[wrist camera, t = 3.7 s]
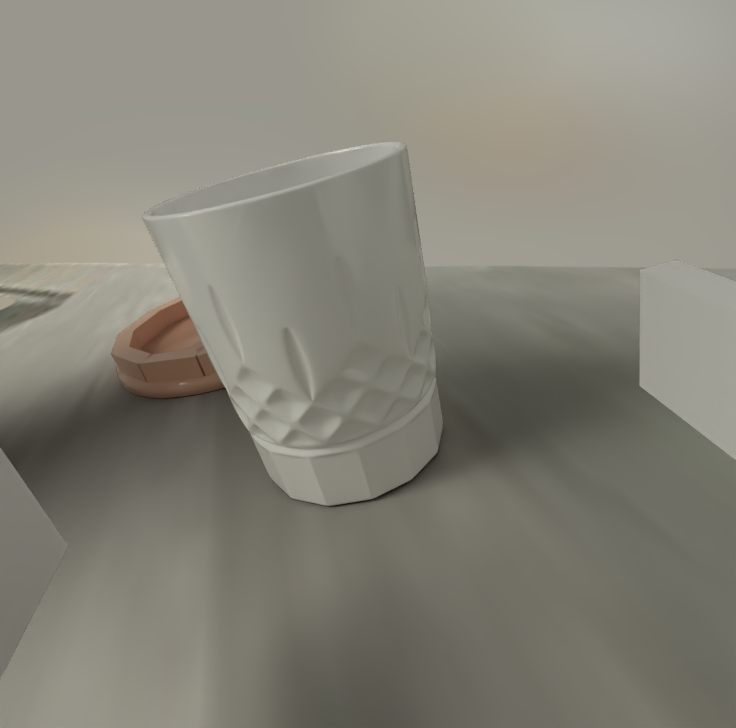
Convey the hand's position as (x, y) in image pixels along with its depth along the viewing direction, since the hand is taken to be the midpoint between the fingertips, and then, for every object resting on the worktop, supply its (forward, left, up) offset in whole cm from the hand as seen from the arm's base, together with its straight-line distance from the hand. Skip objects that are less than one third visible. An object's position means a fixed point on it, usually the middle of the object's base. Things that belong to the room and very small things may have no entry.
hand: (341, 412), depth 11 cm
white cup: (-3, +7, -6) cm, 9 cm away
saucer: (-14, +19, -6) cm, 24 cm away
